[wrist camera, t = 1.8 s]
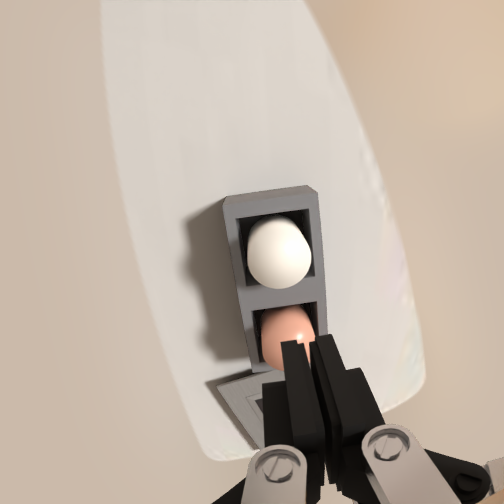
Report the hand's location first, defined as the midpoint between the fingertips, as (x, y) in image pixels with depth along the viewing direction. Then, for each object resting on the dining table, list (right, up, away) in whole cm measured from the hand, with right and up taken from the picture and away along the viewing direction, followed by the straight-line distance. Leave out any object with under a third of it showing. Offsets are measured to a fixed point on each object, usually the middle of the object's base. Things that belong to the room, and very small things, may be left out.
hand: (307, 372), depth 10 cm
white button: (0, +5, +14) cm, 15 cm away
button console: (0, +2, +17) cm, 17 cm away
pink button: (+1, -2, +16) cm, 16 cm away
